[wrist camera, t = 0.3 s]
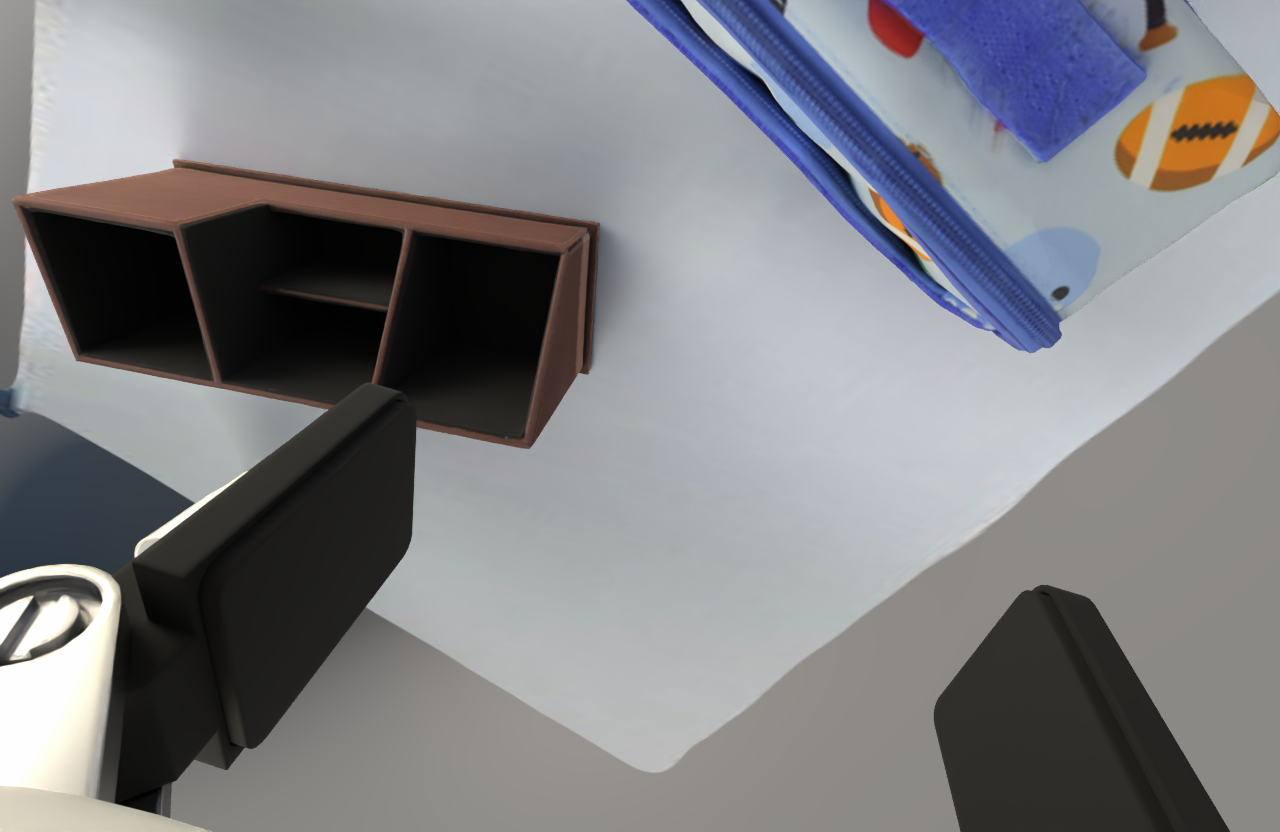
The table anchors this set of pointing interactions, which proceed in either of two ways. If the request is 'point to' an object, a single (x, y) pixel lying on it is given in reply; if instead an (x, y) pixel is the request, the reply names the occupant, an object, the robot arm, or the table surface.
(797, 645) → the table surface
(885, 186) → the lunch box
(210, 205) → the desk organizer
